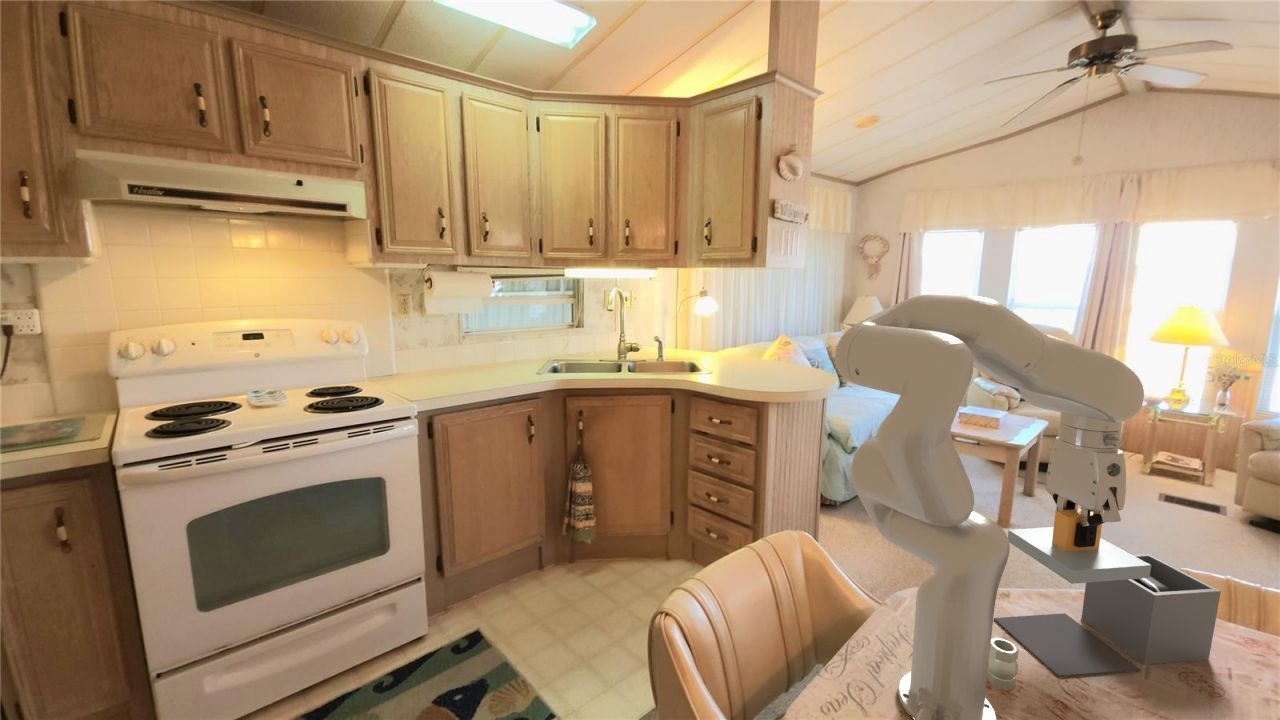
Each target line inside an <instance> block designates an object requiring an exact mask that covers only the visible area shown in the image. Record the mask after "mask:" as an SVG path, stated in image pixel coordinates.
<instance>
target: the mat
mask: <svg viewBox="0 0 1280 720" xmlns="http://www.w3.org/2000/svg"><path fill="white" fill-rule="evenodd" d="M994 621H995V623H997V625H998V626H1000V627H1001V628H1002V629H1004V630H1005V632H1006V633H1008V634H1009V636H1011V637H1012V638H1013V639H1015V640H1016V641H1017V643H1019V644H1020V645H1021V646H1022V647H1023V648H1025V649H1026V650H1027V651H1028V652H1029V653H1030V654H1031V655H1032V654H1033V657H1034V658H1036V659H1037V660H1038V661H1039V660H1040V661H1041V662H1042V663H1041V662H1040V661H1039V662H1040V663H1041V664H1042V665H1044V666H1045V667H1046V668H1047V669H1048V670H1049V671H1050V672H1051V673H1052V674H1053V675H1055V676H1056V677H1058V678H1069V677H1083V676H1084V677H1085V676H1096V675H1097V676H1099V675H1110V674H1125V673H1127V674H1128V673H1136V672H1137V673H1139V672H1141V670H1142V669H1141V668H1140V667H1138V666H1137V665H1136V664H1135V663H1133V662H1132V661H1130V660H1129V659H1128V658H1126V657H1125V656H1123V655H1122V654H1120V653H1119V652H1118V650H1115V649H1114V648H1113V647H1112V646H1110V645H1109V644H1107V642H1105V641H1103V639H1101V638H1100V637H1098V636H1097V635H1095V634H1094V633H1092V632H1091V631H1090V630H1089V629H1087V628H1086V627H1084V626H1083V625H1082V624H1080V623H1079V622H1078V621H1076V620H1075V619H1073V618H1072V617H1071V616H1069V615H1068V614H1067V613H1050V614H1049V613H1048V614H1037V615H1036V614H1035V615H1020V616H1008V617H1007V616H1003V617H993V622H994Z"/></svg>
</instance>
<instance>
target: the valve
mask: <svg viewBox="0 0 1280 720" xmlns="http://www.w3.org/2000/svg"><path fill="white" fill-rule="evenodd" d="M1018 658H1019V649H1018V648H1017V647H1016V646H1015V644H1014V643H1013V642H1011V641H1009V640H1007V639H1004V638H1000V637H993V638H991V646H990V656H989V666H988V676H987V682H989V684H990V685H991V686H992V687H994V688H996V689H999V690H1002V691H1005V692H1009V691H1011V690H1012V689H1013V688H1015V685H1016V676H1017V675H1018V672H1019V666H1018V661H1017V660H1018Z"/></svg>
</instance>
